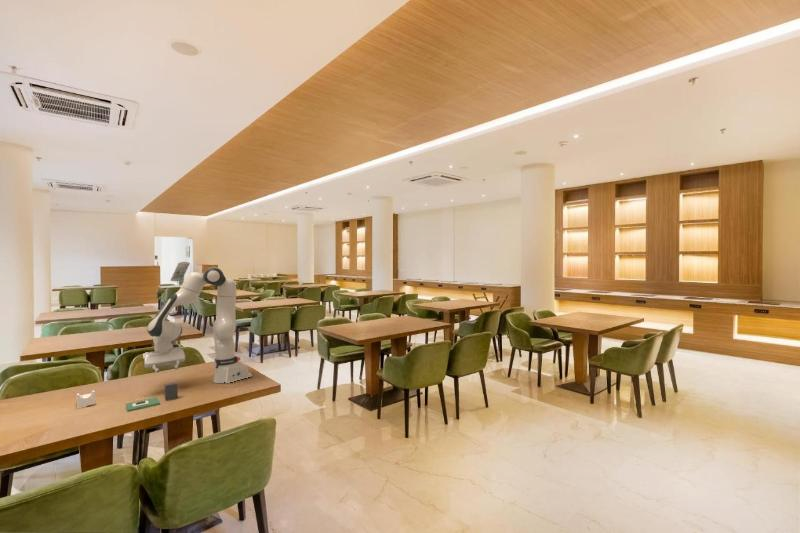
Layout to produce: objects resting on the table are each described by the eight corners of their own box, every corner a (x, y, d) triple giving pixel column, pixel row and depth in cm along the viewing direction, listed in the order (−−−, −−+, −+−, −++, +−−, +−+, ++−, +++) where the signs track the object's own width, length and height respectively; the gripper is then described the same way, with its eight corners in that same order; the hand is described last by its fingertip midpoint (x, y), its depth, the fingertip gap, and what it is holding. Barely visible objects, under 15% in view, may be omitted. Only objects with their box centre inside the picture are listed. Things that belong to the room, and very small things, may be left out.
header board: (156, 398, 208) (156, 391, 208) (160, 404, 200) (159, 397, 200) (125, 405, 199) (125, 398, 199) (127, 411, 191) (127, 404, 191)
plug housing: (176, 396, 212) (175, 382, 211) (177, 398, 209) (177, 383, 209) (164, 398, 208) (164, 384, 208) (165, 400, 205) (165, 386, 205)
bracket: (95, 405, 201) (94, 391, 200) (77, 409, 196) (76, 395, 196) (93, 399, 210) (93, 385, 210) (76, 402, 206) (76, 388, 205)
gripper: (142, 350, 215) (145, 370, 207) (183, 344, 228) (187, 363, 220) (142, 356, 218) (144, 377, 211) (182, 350, 231) (186, 369, 224)
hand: (166, 370), depth 216 cm, fingers open, 8 cm apart
